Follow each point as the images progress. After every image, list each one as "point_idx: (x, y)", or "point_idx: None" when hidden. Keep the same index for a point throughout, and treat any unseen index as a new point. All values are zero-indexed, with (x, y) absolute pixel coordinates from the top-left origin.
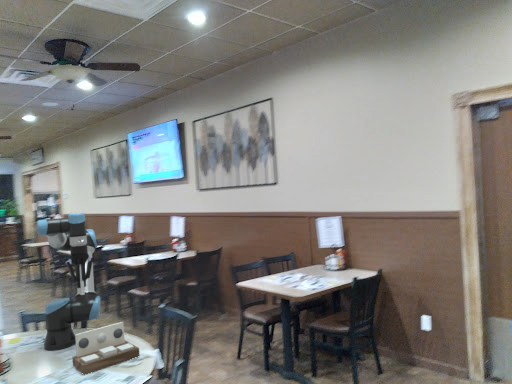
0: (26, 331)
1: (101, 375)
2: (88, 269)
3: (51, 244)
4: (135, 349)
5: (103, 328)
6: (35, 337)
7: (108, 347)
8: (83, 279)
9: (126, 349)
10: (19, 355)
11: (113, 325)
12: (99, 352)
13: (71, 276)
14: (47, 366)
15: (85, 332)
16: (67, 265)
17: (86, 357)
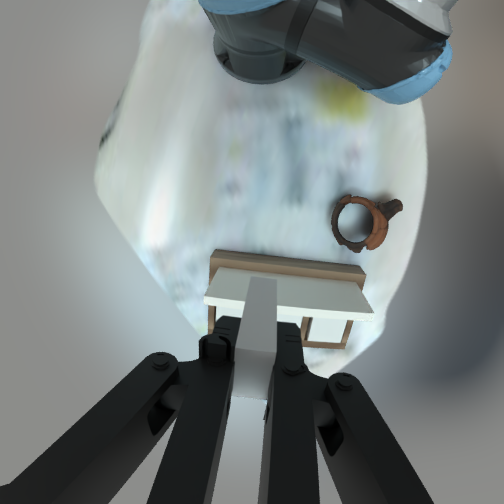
0: None
1: None
2: (342, 501)
3: None
4: (335, 348)
5: (300, 314)
6: None
7: (290, 318)
8: (266, 408)
9: (320, 340)
10: (157, 40)
11: (337, 318)
12: None
13: (121, 393)
14: (171, 190)
15: (236, 308)
16: (12, 498)
17: (227, 310)
